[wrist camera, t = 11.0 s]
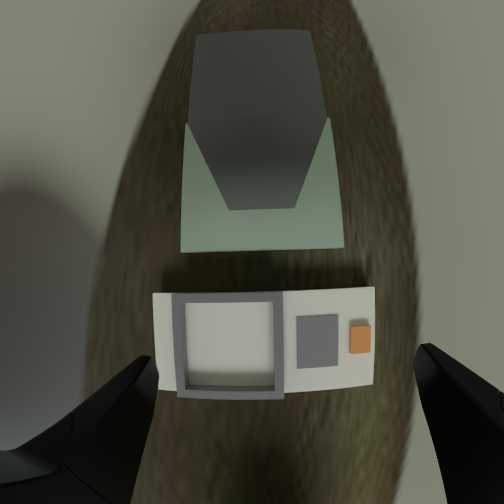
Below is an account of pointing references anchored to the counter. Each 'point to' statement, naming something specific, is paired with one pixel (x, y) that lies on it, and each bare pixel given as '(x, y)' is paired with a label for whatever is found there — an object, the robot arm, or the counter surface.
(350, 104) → the counter surface
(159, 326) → the power strip
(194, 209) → the rubber mat
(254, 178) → the brick
